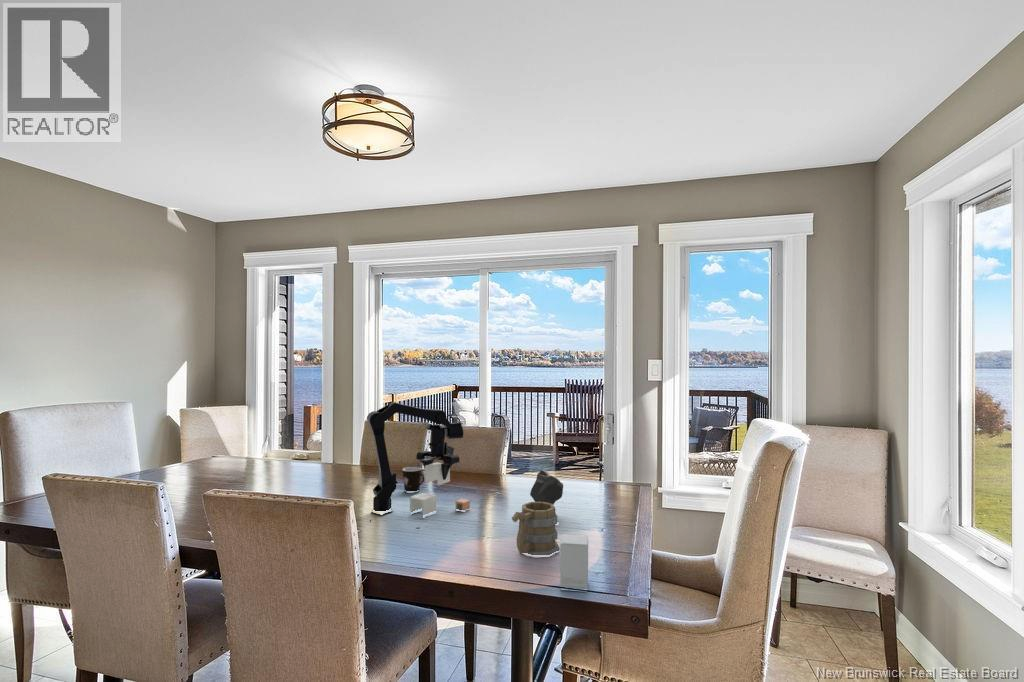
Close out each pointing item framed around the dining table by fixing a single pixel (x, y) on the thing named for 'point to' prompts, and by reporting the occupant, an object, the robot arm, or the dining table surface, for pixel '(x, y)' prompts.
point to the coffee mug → (412, 478)
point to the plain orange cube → (462, 504)
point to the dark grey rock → (546, 488)
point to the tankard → (537, 529)
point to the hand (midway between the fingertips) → (437, 478)
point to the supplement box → (574, 561)
